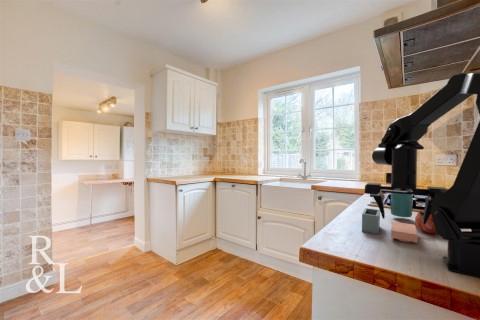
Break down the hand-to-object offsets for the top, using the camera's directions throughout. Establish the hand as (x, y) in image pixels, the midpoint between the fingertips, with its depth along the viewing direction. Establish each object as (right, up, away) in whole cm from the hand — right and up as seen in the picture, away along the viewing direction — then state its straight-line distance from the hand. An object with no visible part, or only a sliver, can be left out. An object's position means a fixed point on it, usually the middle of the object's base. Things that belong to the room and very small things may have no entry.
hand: (403, 221), depth 62 cm
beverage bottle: (+13, -5, +18) cm, 22 cm away
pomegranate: (+12, -5, +4) cm, 13 cm away
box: (-5, -5, +7) cm, 10 cm away
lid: (0, -4, 0) cm, 4 cm away
